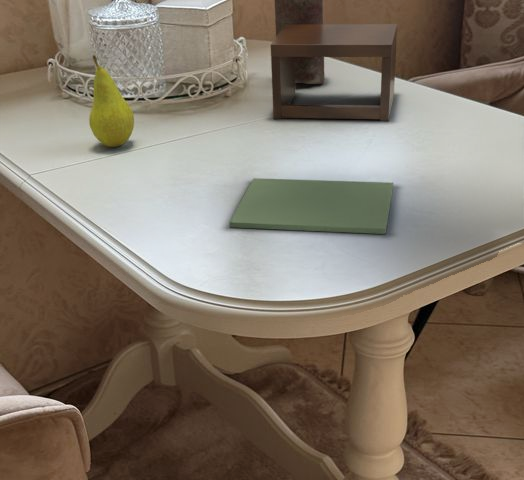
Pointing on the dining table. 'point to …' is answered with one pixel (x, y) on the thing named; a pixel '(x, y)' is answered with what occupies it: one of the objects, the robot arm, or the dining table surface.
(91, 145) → the dining table surface
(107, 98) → the fruit
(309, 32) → the shelf stand
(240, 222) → the placemat
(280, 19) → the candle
